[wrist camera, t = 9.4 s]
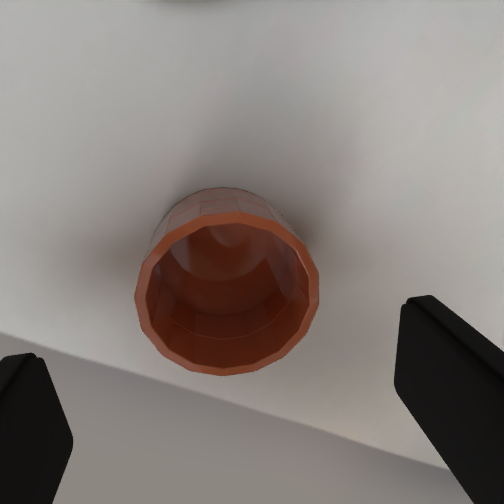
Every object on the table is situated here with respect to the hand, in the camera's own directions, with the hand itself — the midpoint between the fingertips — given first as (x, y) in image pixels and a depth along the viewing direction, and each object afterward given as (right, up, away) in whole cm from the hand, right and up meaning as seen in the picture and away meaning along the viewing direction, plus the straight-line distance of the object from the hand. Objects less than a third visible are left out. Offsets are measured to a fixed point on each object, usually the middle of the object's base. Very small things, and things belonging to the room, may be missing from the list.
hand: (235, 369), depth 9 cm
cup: (-1, +3, +8) cm, 9 cm away
